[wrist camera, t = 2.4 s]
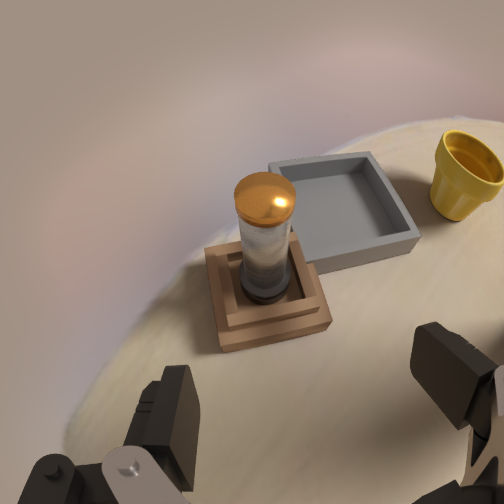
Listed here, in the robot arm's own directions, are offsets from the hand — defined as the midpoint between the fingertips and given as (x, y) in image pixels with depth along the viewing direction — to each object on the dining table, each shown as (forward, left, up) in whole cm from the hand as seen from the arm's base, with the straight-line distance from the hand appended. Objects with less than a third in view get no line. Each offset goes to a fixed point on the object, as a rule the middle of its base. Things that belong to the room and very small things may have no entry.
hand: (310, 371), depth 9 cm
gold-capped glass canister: (-1, -10, -15) cm, 18 cm away
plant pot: (-30, -17, -18) cm, 39 cm away
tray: (-12, -18, -18) cm, 28 cm away
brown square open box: (-1, -10, -18) cm, 21 cm away
